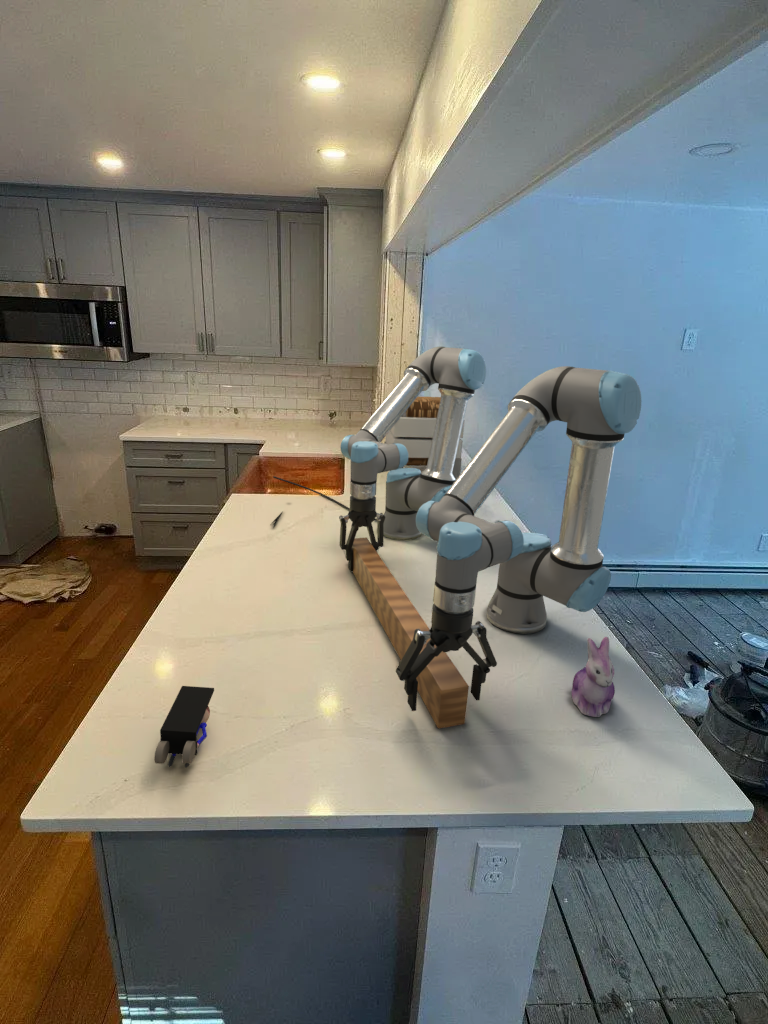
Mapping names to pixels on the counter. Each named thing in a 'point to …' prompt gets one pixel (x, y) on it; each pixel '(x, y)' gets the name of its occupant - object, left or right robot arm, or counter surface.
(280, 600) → the counter surface
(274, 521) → the feather
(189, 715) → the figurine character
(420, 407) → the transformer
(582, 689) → the figurine
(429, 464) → the left robot arm
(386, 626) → the post
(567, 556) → the right robot arm
